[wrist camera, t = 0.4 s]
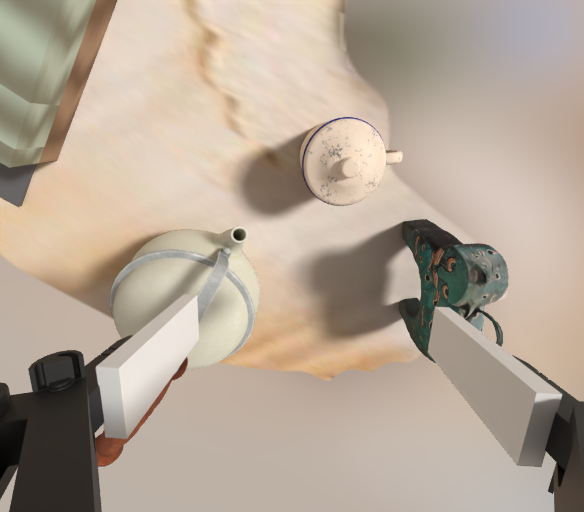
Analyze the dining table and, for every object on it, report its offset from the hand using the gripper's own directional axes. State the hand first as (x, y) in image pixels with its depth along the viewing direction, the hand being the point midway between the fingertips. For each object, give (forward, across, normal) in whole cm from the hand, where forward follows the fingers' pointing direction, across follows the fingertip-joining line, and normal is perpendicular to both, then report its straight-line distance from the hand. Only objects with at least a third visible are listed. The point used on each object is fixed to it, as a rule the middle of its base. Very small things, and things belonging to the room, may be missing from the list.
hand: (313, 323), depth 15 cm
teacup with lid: (+26, +4, +12) cm, 29 cm away
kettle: (+28, -15, -4) cm, 32 cm away
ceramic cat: (+31, +18, -4) cm, 36 cm away
